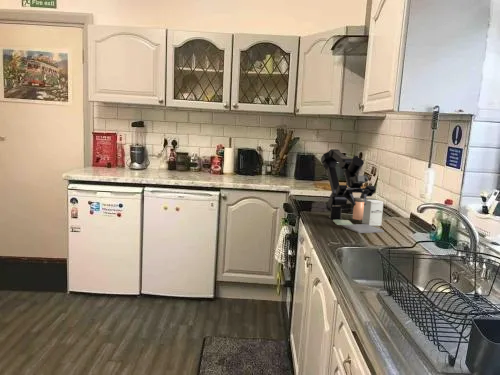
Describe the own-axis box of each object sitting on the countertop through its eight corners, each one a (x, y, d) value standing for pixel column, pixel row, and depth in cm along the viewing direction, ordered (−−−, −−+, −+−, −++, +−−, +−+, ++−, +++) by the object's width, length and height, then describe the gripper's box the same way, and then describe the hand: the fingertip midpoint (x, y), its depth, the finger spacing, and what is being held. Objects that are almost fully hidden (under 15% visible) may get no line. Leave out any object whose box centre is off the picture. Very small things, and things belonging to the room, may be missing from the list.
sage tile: (333, 221, 229) (333, 219, 229) (348, 222, 230) (348, 220, 230) (336, 224, 222) (336, 222, 221) (352, 225, 222) (352, 223, 222)
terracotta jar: (350, 217, 212) (352, 197, 211) (358, 217, 214) (360, 197, 212) (356, 220, 208) (358, 199, 206) (364, 219, 210) (366, 199, 208)
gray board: (342, 226, 218) (342, 224, 218) (366, 225, 223) (366, 224, 223) (358, 233, 205) (358, 231, 205) (383, 232, 210) (383, 230, 210)
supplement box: (368, 226, 222) (370, 201, 220) (361, 223, 229) (363, 199, 227) (381, 226, 224) (383, 201, 222) (373, 222, 231) (376, 199, 229)
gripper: (339, 168, 210) (347, 194, 201) (375, 169, 214) (384, 195, 204) (332, 182, 219) (339, 208, 209) (367, 183, 222) (375, 208, 213)
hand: (359, 205), depth 209 cm, fingers closed on terracotta jar, 5 cm apart
